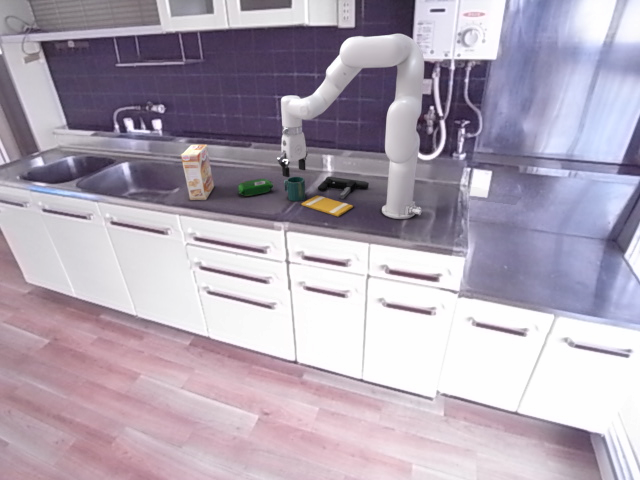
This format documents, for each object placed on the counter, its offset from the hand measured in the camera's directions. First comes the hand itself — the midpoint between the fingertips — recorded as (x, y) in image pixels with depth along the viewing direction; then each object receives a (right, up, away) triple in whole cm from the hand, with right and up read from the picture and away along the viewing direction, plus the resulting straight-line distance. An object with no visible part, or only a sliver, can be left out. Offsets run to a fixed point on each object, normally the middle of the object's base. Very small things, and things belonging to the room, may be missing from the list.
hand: (294, 173), depth 152 cm
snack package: (-17, -7, +11) cm, 22 cm away
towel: (+13, -14, -3) cm, 19 cm away
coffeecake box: (-41, -7, +12) cm, 43 cm away
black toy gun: (+20, -6, +11) cm, 23 cm away
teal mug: (-1, -9, +6) cm, 11 cm away
